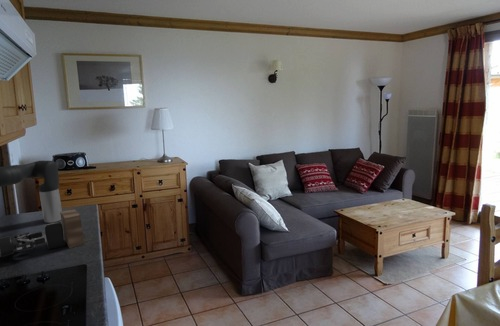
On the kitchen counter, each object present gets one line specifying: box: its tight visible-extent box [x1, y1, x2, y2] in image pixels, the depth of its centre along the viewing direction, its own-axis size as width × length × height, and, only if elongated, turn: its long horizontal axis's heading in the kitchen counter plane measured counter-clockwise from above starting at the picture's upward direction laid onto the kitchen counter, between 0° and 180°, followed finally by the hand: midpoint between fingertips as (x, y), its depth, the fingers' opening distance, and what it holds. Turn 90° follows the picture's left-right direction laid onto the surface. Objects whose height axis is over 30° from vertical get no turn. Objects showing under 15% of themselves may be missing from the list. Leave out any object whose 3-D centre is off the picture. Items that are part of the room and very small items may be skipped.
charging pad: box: [31, 233, 47, 248], centre depth 164 cm, size 12×12×1 cm
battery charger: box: [44, 221, 66, 250], centre depth 154 cm, size 7×4×11 cm, turn 119°
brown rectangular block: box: [60, 208, 85, 249], centre depth 158 cm, size 12×6×14 cm, turn 38°
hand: (43, 236), depth 152 cm, fingers open, 8 cm apart
